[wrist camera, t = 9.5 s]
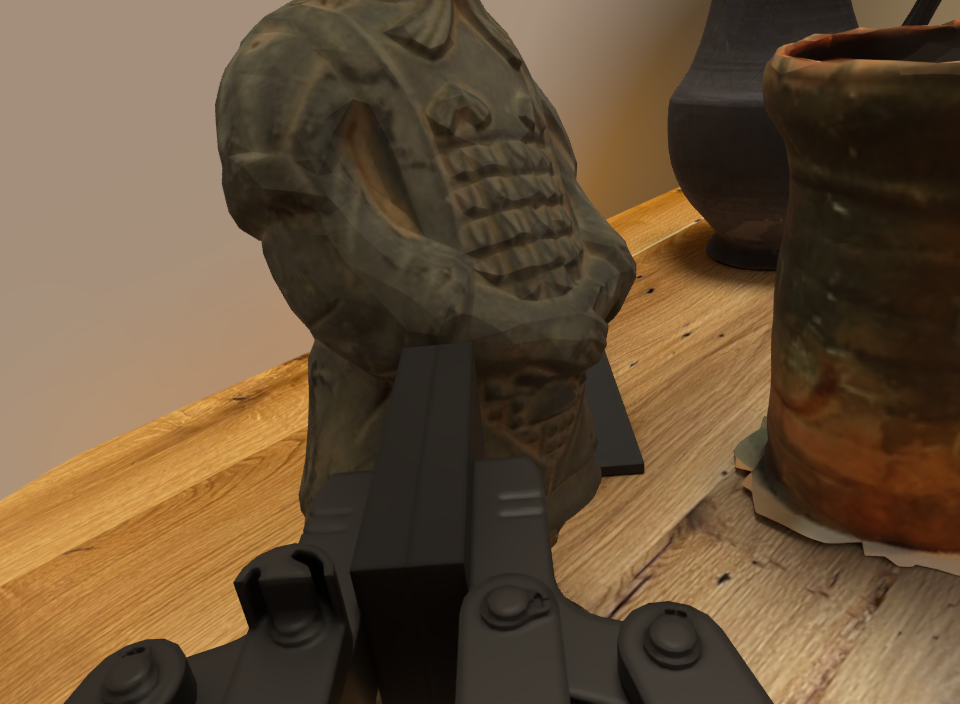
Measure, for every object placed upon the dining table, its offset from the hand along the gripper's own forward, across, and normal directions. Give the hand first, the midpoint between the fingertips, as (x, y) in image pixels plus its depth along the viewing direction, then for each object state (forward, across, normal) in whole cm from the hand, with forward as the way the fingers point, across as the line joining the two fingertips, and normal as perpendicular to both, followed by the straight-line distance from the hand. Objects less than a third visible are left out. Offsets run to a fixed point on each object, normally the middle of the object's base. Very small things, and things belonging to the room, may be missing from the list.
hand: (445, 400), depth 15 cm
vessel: (+14, +19, -15) cm, 28 cm away
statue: (+3, 0, -14) cm, 14 cm away
